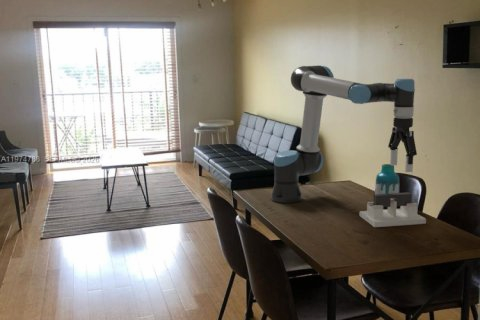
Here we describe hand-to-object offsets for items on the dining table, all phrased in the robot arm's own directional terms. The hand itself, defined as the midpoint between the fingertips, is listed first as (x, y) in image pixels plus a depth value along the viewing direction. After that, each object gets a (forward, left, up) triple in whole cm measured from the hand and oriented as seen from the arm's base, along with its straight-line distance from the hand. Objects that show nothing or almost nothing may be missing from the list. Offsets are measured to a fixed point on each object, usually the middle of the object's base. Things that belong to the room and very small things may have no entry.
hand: (400, 168), depth 206 cm
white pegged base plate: (0, -3, -22) cm, 22 cm away
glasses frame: (0, -3, -16) cm, 16 cm away
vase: (-20, +4, -22) cm, 30 cm away
